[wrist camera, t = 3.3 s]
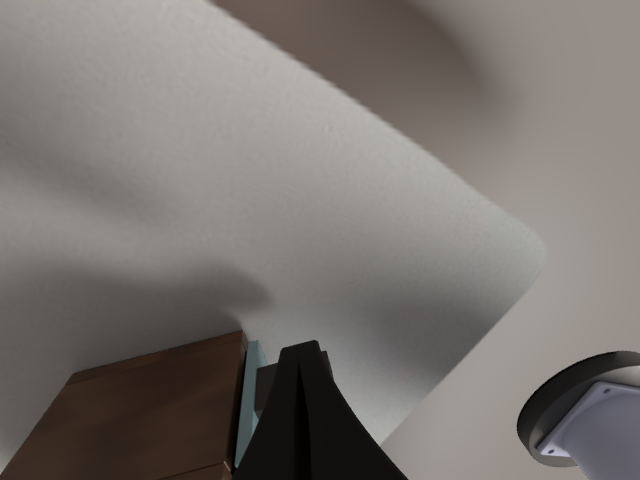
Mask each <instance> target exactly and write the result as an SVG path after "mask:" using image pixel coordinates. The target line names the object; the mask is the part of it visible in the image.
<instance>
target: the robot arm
mask: <svg viewBox="0 0 640 480" xmlns="http://www.w3.org/2000/svg"><path fill="white" fill-rule="evenodd" d="M537 450H538V451H539V453H540V454H542V455H552V456H565V457H571V458H572V459H573V460H574V461H575V462H576V464H577V465H578V466H579V467H580V469H581V470H582V471H583V472H584V473H585V475H586V476H587V477H588V479H589V480H640V387H634V386H628V385H622V384H615V383H609V382H603V381H598V382H596V383H594V384H593V385H592V386H591V387H590V388H589V389H588V390H587V392H586V393H585V394H584V395H583V396H582V397H581V398H580V399H579V401H578V402H577V403H576V404H575V405H574V406H573V407H572V408H571V410H570V411H569V412H568V413H567V414H566V415H565V416H564V417H563V419H562V420H561V421H560V422H559V423H558V424H557V425H556V426H555V428H554V429H553V430H552V431H551V432H550V433H549V434H548V435H547V436H546V438H545V439H544V440H543V441H542V442H541V443H540V444H539V445H538V447H537ZM231 480H408V479H407V477H406V476H405V475H404V474H403V473H402V472H401V471H400V470H399V469H398V468H397V467H396V466H395V464H394V463H393V462H392V461H391V460H390V458H389V457H388V456H387V455H386V454H385V453H384V451H383V450H382V449H381V448H380V447H379V445H378V444H377V443H376V442H375V441H374V439H373V438H372V437H371V435H370V434H369V433H368V432H367V430H366V429H365V428H364V426H363V425H362V424H361V422H360V421H359V420H358V418H357V417H356V415H355V414H354V412H353V411H352V409H351V408H350V407H349V405H348V403H347V402H346V400H345V399H344V397H343V396H342V394H341V392H340V391H339V389H338V387H337V386H336V384H335V382H334V380H333V378H332V376H331V375H330V373H329V371H328V369H327V367H326V364H325V362H324V360H323V357H322V353H321V350H320V346H319V343H318V341H316V340H312V341H308V342H304V343H300V344H296V345H293V346H289V347H285V348H282V350H281V351H280V356H279V360H278V365H277V368H276V372H275V375H274V379H273V382H272V385H271V388H270V391H269V394H268V397H267V400H266V403H265V406H264V408H263V411H262V413H261V416H260V418H259V421H258V423H257V426H256V428H255V431H254V433H253V435H252V438H251V440H250V442H249V444H248V447H247V449H246V451H245V453H244V455H243V457H242V459H241V461H240V463H239V465H238V467H237V469H236V471H235V473H234V474H233V476H232V478H231Z"/></svg>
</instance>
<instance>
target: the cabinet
mask: <svg viewBox="0 0 640 480" xmlns="http://www.w3.org/2000/svg"><path fill="white" fill-rule="evenodd" d="M247 349H248V341H247V339H246V337H245V334H244V332H243V330H242V331H238V332H234V333H230V334H226V335H222V336H218V337H214V338H210V339H207V340H203V341H199V342H195V343H191V344H187V345H183V346H179V347H175V348H171V349H168V350H164V351H160V352H156V353H152V354H148V355H144V356H140V357H136V358H133V359H129V360H125V361H121V362H117V363H113V364H109V365H105V366H101V367H97V368H94V369H90V370H86V371H82V372H78V373H74V374H72V376H71V377H70V378H69V380H68V381H67V382H66V384H65V386H64V387H63V389H62V390H61V391H60V393H59V394H58V395H57V397H56V398H55V400H54V401H53V402H52V404H51V405H50V407H49V408H48V409H47V411H46V412H45V413H44V415H43V416H42V418H41V419H40V420H39V422H38V423H37V425H36V426H35V427H34V429H33V430H32V432H31V433H30V434H29V436H28V437H27V438H26V440H25V441H24V443H23V444H22V445H21V447H20V448H19V450H18V451H17V452H16V454H15V455H14V456H13V458H12V459H11V461H10V462H9V463H8V465H7V466H6V468H5V469H4V470H3V472H2V473H1V475H0V480H231V478H232V476H233V474H234V473H235V471H236V469H237V468H236V466H235V457H236V448H237V439H238V430H239V421H240V412H241V403H242V394H243V385H244V376H245V367H246V358H247Z"/></svg>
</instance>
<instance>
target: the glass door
mask: <svg viewBox="0 0 640 480" xmlns="http://www.w3.org/2000/svg"><path fill="white" fill-rule="evenodd" d="M321 353H322V357H323V360H324V362H325V364H326V367H327V369H328V371H329V373H330V375H331V376H332V378H333V373H332V369H331V365H330V361H329V358H328V354H327V351H321ZM277 365H278V363H275V364H271V365H268V363H267V361H266V358H265V356H264V353H263V351H262V348H261V346H260V344H259V341H258V340H256V341H252V342H249V343H248V349H247V358H246V367H245V376H244V385H243V394H242V403H241V412H240V421H239V430H238V439H237V448H236V457H235V466H236V468H237V467H238V465H239V463H240V461H241V459H242V457H243V455H244V453H245V451H246V449H247V447H248V444H249V442H250V440H251V438H252V435H253V433H254V431H255V428H256V426H257V423H258V421H259V418H260V416H261V413H262V411H263V408H264V406H265V403H266V400H267V397H268V394H269V391H270V388H271V385H272V382H273V379H274V375H275V372H276V368H277ZM333 380H334V378H333Z"/></svg>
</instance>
